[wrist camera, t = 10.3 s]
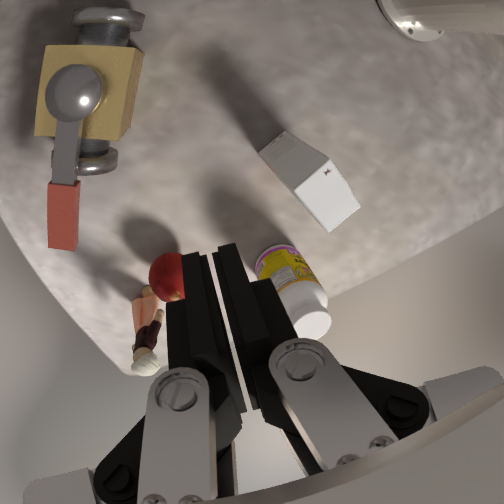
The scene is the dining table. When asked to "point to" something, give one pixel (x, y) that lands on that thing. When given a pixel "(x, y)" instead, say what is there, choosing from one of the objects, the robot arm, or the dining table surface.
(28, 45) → the dining table surface
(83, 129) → the valve
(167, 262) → the onion
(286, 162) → the skincare box
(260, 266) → the supplement bottle
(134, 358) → the grandmother figurine
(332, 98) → the dining table surface
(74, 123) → the lever
